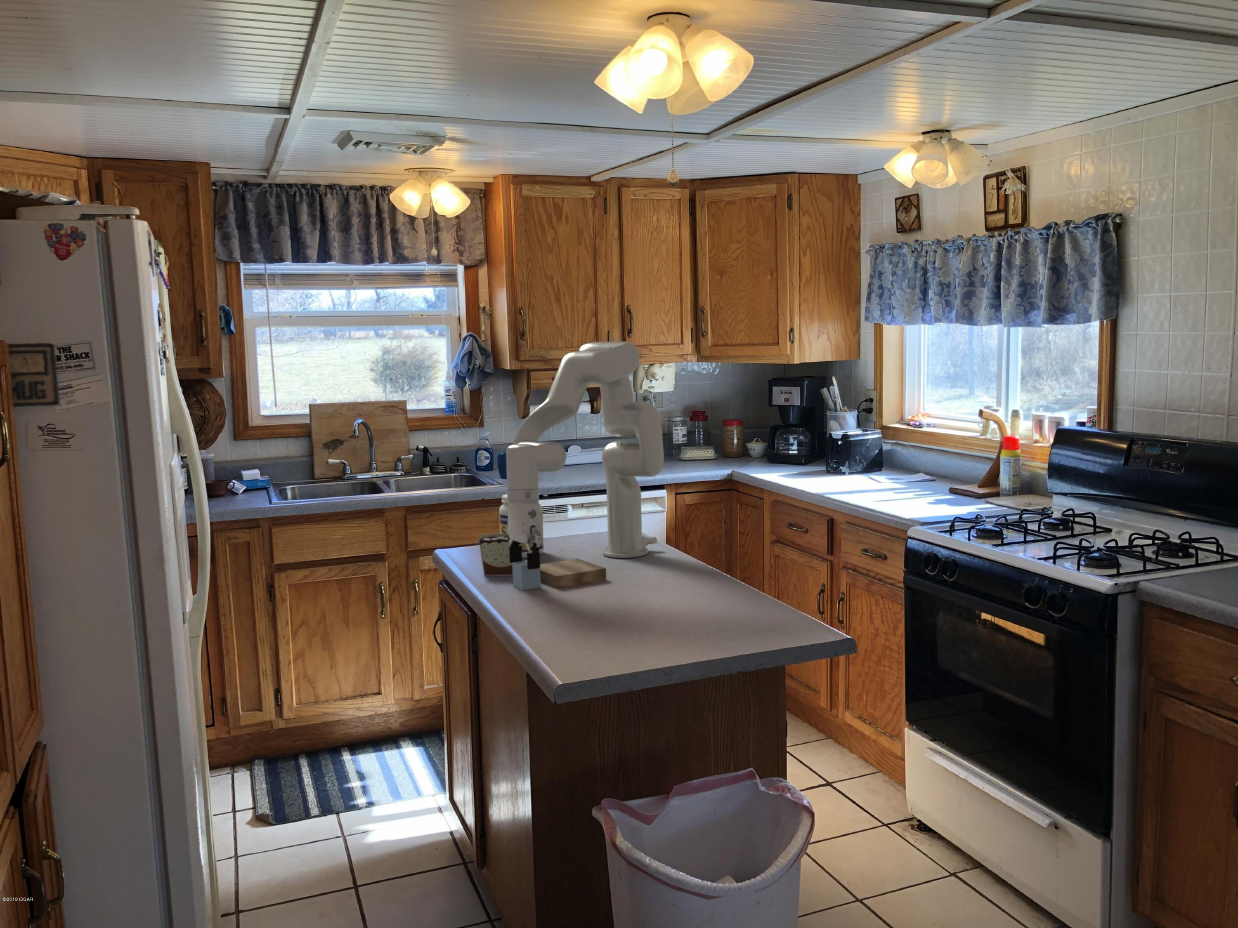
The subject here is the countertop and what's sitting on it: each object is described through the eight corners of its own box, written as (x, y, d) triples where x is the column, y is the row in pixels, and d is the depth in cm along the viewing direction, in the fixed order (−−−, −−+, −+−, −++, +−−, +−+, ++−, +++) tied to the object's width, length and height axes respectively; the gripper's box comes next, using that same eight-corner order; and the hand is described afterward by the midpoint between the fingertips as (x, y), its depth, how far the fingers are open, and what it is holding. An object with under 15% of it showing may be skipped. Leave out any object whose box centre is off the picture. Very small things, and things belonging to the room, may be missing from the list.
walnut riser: (578, 569, 258) (578, 558, 258) (606, 579, 247) (606, 568, 246) (530, 577, 251) (530, 566, 251) (556, 588, 239) (556, 576, 239)
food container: (530, 570, 260) (528, 532, 258) (525, 575, 254) (524, 537, 252) (484, 570, 261) (482, 533, 260) (478, 575, 255) (476, 537, 254)
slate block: (531, 583, 245) (530, 559, 245) (540, 587, 241) (539, 563, 240) (513, 586, 243) (512, 562, 242) (522, 590, 238) (521, 566, 238)
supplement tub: (493, 558, 276) (491, 498, 274) (511, 549, 287) (508, 491, 285) (534, 559, 272) (532, 499, 270) (550, 550, 284) (548, 492, 282)
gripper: (553, 498, 234) (555, 569, 235) (521, 490, 248) (522, 557, 250) (524, 500, 230) (526, 573, 231) (493, 493, 244) (495, 561, 246)
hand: (524, 565), depth 241 cm, fingers open, 9 cm apart
